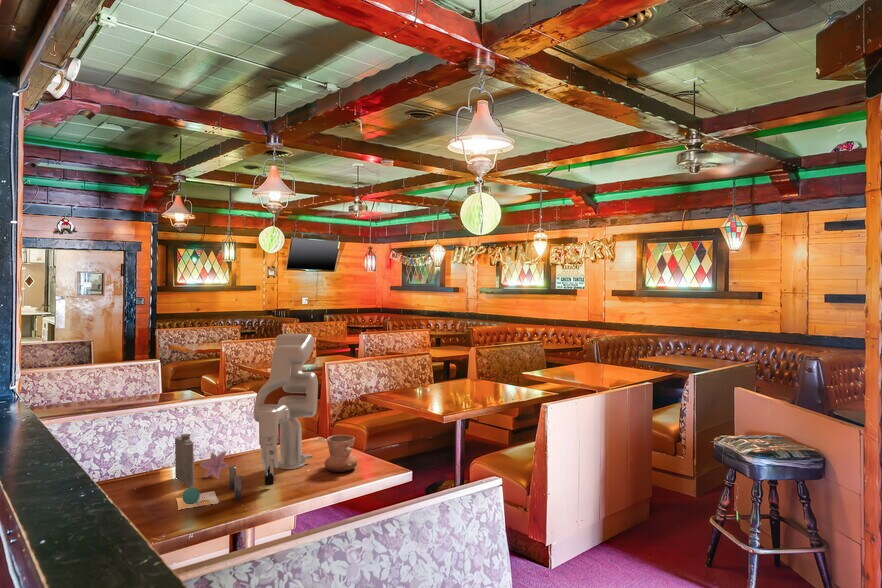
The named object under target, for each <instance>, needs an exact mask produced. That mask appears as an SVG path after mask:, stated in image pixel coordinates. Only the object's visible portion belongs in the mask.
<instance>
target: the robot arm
mask: <svg viewBox="0 0 882 588" xmlns="http://www.w3.org/2000/svg"><path fill="white" fill-rule="evenodd" d="M275 346H276V347H275V348H274V349H273V352H272V353H273V354H272V358H271V359H272V360H271V365H270V372H269V379H268V380H267V381H266V382H265V383H264V384H263V385H262V387H261V388H260V389H259V391H258V392H257V394H256V396H255V401H254V406H253V419H254V421H255V422H256V423H257V422H258V445H259V446H261V447H260V448H261V450H260V451H261V459H260V460H261V465H262V467H263V468H264V485H265V486H266V487H267V486H273V485H274V483H275V482H274V479H275V478H274V475H275V474H274V471H275V469H277V470H278V469H281V470H295V469H298V468H299V469H300V468H302V467H304V466H305V465H306V460H312V459H313V454H308V453H306V454H304V453H302V452H303V450H302V447H303V446H302V440H303V439H302V438H303V437H302V436H303V435H302V425H301V422H300V420H299V419H298V418H312V417H314V416H315V415H316V414H317V410H318V396H319V395H318V394H319V393H318V392H319V380H318V376H317V374H316V373H315V372H313V371H303V364H305V363H306V362H307V361H308V359H309V358H310V356H311V353H313V350H314V347H315V338H314V336H313V335H312V334H311V333H282V334H281V333H280V334H278V335H277V336H276V338H275ZM281 387H282V390H283V392H285V393H289V394H305V395H285V396H282V397H281V398H279V400H278V401H277V404H275V403H273V404H271V403H268V404H265V400H266V398H267V397H268V395H269V394H270V393H272V392H273V391H275V390H277V389H279V388H281ZM277 444H279V453H278V446H277ZM278 454H279V455H278ZM274 468H275V469H274Z"/></svg>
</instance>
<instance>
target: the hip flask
mask: <svg viewBox="0 0 882 588" xmlns="http://www.w3.org/2000/svg"><path fill="white" fill-rule="evenodd" d="M174 450H175V451H174V455H175V457H174V458H175V463H174V464H175V467H174V468H175V469H174V471H175V479H176V478H177V479H179V480H181V481H182V482H183V483H184V484H185V485H184V484H183V483H182V482H181V481H180V482H181V483H182V484H183V485H184V487H185V486H186V488H191V486H193V487H194V486H195V472H194V471H195V470H194V469H195V468H194V466H195V465H194V462H195V461H194V460H195V459H194V451H195V450H194V442H193V441H192V440H191V433H182V434H180V436H176V437H174ZM177 479H176V480H177ZM179 480H178V481H179Z"/></svg>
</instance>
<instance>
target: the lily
mask: <svg viewBox="0 0 882 588" xmlns="http://www.w3.org/2000/svg"><path fill="white" fill-rule="evenodd" d="M226 455H227V450H224V451H222V452H221V453H219V454H217V455H216V454H215V453H214V452H211V454H210V458H209V459H208V460H205V461H202V462H200V463H199V466H200V467H201V468H203V469H205V470H206V471H205V472H206V473H205V476H204V478H205V477H206V478H208V477H210V476H211V475H213V476H214V477H215V478H216V479H217V480H219V479H220V477H221V471H222V469H225V468H228V467H230V464H228V463H227V462H226V461H224V459H225V457H226Z"/></svg>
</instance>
